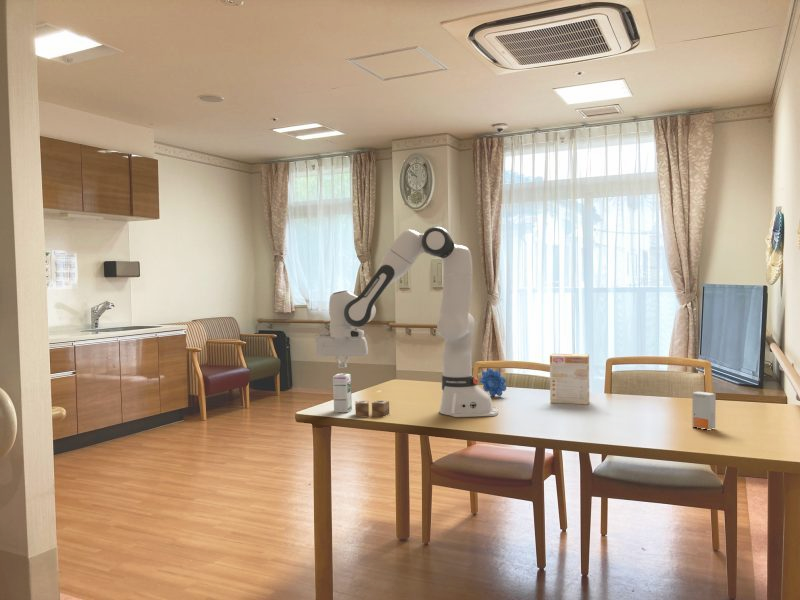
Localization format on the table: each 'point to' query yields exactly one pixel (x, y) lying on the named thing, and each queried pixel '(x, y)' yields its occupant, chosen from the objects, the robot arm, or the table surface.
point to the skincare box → (703, 410)
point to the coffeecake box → (569, 378)
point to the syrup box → (342, 392)
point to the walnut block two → (380, 408)
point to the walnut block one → (362, 408)
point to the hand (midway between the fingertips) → (342, 367)
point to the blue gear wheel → (493, 382)
